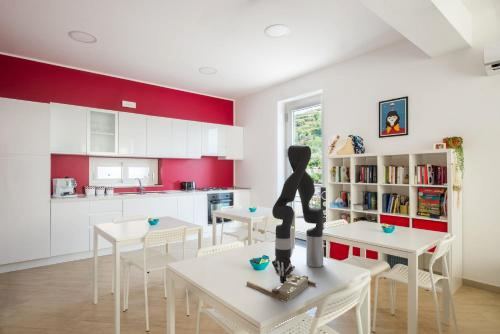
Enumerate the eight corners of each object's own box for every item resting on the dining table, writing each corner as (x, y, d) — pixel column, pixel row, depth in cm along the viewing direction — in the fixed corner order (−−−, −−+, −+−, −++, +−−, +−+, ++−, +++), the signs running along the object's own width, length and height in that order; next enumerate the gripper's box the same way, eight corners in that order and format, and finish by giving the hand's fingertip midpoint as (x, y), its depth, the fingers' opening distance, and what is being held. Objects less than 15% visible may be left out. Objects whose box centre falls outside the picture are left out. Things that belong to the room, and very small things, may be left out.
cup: (296, 266, 161) (296, 229, 161) (278, 266, 161) (277, 228, 161) (293, 260, 171) (293, 225, 171) (276, 260, 172) (276, 225, 172)
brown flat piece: (278, 272, 152) (278, 266, 152) (316, 285, 135) (316, 279, 135) (246, 285, 136) (246, 278, 136) (284, 302, 118) (284, 295, 118)
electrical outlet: (275, 286, 125) (294, 274, 140) (275, 296, 125) (294, 282, 140) (290, 291, 121) (307, 277, 135) (290, 300, 121) (307, 286, 135)
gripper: (298, 248, 132) (299, 284, 132) (277, 242, 142) (277, 276, 142) (288, 251, 127) (288, 289, 127) (267, 245, 137) (267, 281, 137)
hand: (283, 282), depth 134 cm, fingers closed
